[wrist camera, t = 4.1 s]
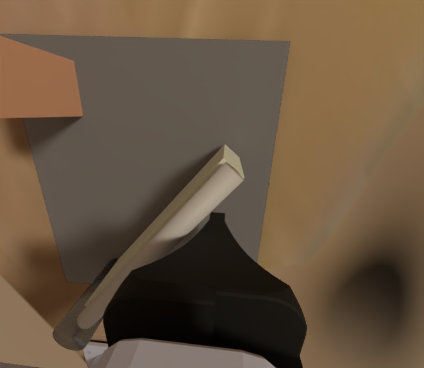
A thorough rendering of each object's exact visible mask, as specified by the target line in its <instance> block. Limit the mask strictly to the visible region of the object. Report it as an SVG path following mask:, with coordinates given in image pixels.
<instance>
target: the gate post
mask: <svg viewBox="0 0 424 368" xmlns="http://www.w3.org/2000/svg"><path fill="white" fill-rule="evenodd" d="M117 261H118V259H117V258H116V259H112V260H110V261H109V262H108V263H107V265H106V266H105V267H104V268H103V270H102V271H101V272H100V273H99V275H98V276H97V277H96V278H95V280H94V281H93V282H92V283H91V285H90V286H89V287H88V288H87V290H86V291H85V292H84V293H83V295H82V296H81V297H80V298H79V300H78V301H77V302H76V303H75V305H74V306H73V307H72V308H71V310H70V311H69V312H68V313H67V315H66V316H65V317H64V318H63V319H62V321H61V322H60V323H59V324H58V326H57V327H56V328H55V329H54V331H53V337H54V339H55V341H56V342H57V343H58V344H59V345H61V346H62V347H64V348H67V349H70V350H82V349H84V348H85V347H86V346H87V344H88V343H89V341H90V339H91V338H92V336H93V334H94V333H95V331H96V329H97V328H98V326H99V324H100V323H101V321H102V320H103V316H102V317H101V318H100V319H99V320H98V321H97V322H96V323H95V324H94V325H93V326H92V327H91V328H88V329H82V328H80V327H79V326H78V324H77V318H78V316H79V314H80V313H81V312H82V311H83V310H84V309H85V308H86V306H84V305H85V303H86V302H87V301H88V299H89V298H90V297H91V295H92V294H93V293H94V291H95V290H96V289H97V287H98V286H99V285H100V283H101V282H102V281H103V279H104V278H105V277H106V275H107V274H108V273H109V271H110V270H111V269H112V267H113V266H114V265H115V263H116V262H117Z"/></svg>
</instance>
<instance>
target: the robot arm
mask: <svg viewBox="0 0 424 368" xmlns="http://www.w3.org/2000/svg"><path fill="white" fill-rule="evenodd" d="M103 324H104V328H105V333H106V338H107V343H108V344H107V343H98V342H90V341H89V343H88V344H87V346H86V347H85V348H84V349H83V351H84V355H85V359H86V362H87V366H88V368H303V367H302V363H301V360H300V352H301V349H302V346H303V343H304V339H305V336H306V331H307V325H306V321H305V318H304V315H303V312H302V309H301V307H300V305H299V303H298V301H297V299H296V297H295V295H294V293H293V291H292V289H291V287H290V286H289V285H287V284H286V283H284V282H282V281H281V280H279V279H278V278H276V277H275V276H273V275H272V274H270V273H269V272H268V271H266V270H265V269H264V268H262V267H261V266H260V265H259V264H257V263H256V262H255V261H254V260H253V259H252V258H251V257H250V256H249V255H248V254H247V253H246V252H245V251H244V250H243V249H242V248H241V246H240V245H239V244H238V242H237V241H236V240H235V238H234V237H233V235H232V233H231V232H230V230H229V228H228V226H227V224H226V222H225V213H217V212H211V214H210V219H209V220H208V222H207V223H206V224H205V225H204V227H203V228H202V229H201V230H200V231H199V232H198V233H197V234H196V235H195V236H194V237H193V238H192V239H191V240H189V241H188V242H187V243H186V244H184V245H183V246H182V247H180V248H179V249H177V250H175V251H174V252H172V253H171V254H169V255H167V256H165V257H163V258H161V259H159V260H157V261H155V262H152V263H150V264H147V265H145V266H142V267H139V268H137V269H134V270H132V271H131V272H130V273H129V274H128V276H127V277H126V278H125V279H124V281H123V282H122V283H121V285H120V286H119V288H118V289H117V291H116V292H115V294H114V296H113V297H112V299H111V300H110V302H109V304H108V305H107V307H106V309H105V311H104V314H103ZM0 368H38V367H30V366H23V365H15V364H7V363H0Z"/></svg>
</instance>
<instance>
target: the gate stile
mask: <svg viewBox="0 0 424 368" xmlns="http://www.w3.org/2000/svg"><path fill="white" fill-rule="evenodd" d="M76 116H83V112H82V106H81V100H80V94H79V88H78V82H77V76H76V70H75V64H74V61H73V60H70V59H67V58H64V57H61V56H58V55H55V54H52V53H49V52H47V51H44V50H41V49H38V48H35V47H32V46H29V45H26V44H23V43H20V42H17V41H14V40H11V39H8V38H5V37H2V36H0V118H32V117H76Z"/></svg>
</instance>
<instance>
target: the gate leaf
mask: <svg viewBox="0 0 424 368" xmlns="http://www.w3.org/2000/svg"><path fill="white" fill-rule="evenodd" d="M243 178H244V174H243V170H242V166H241V162H240V158H239V157H238V156H237V155H236V154H235V153H234V152H233V151H232V150H231V149H230V148H229V147H228V146H227V145H226V144H224V145H223V146H222V148H221V149H220V150H219V151H218V152H217V153H216V154H215V155H214V156H213V157H212V158H211V159H210V161H209V162H208V163H207V164H206V165H205V166H204V167H203V168H202V169H201V170H200V171H199V172H198V174H197V175H196V176H195V177H194V178H193V179H192V180H191V181H190V182H189V183H188V184H187V185H186V187H185V188H184V189H183V190H182V191H181V192H180V193H179V194H178V195H177V196H176V197H175V198H174V200H173V201H172V202H171V203H170V204H169V205H168V206H167V207H166V208H165V209H164V210H163V211H162V213H161V214H160V215H159V216H158V217H157V218H156V219H155V220H154V221H153V222H152V223H151V224H150V226H149V227H148V228H147V229H146V230H145V231H144V232H143V233H142V234H141V235H140V236H139V237H138V239H137V240H136V241H135V242H134V243H133V244H132V245H131V246H130V247H129V248H128V249H127V250H126V252H125V253H124V254H123V255H122V256H121V257H120V258H119V259H118V261H117V262H116V263H115V265H114V266H113V267H112V269H111V270H110V271H109V273H108V274H107V275H106V277H105V278H104V279H103V281H102V282H101V283H100V285H99V286H98V287H97V289H96V290H95V291H94V293H93V294H92V295H91V297H90V298H89V299H88V301H87V302H86V303H85V305H84V306H86V308H85V309H84V310H83V311H82V312H81V313H80V314H79V316H78V318H77V324H78V326H79V327H80V328H82V329H88V328H91V327H92V326H93V325H94V324H95V323H96V322H97V321H98V320H99V319H100V318H101V317H102V316H103V314H104V311H105V309H106V307H107V305H108V304H109V302H110V300H111V299H112V297H113V296H114V294H115V292H116V291H117V289H118V288H119V286H120V285H121V283H122V282H123V281H124V279H125V278H126V277H127V276H128V274H129V273H130V272H131V271H132V270H134V269H137V268H139V267H142V266H145V265H147V264H150V263H152V262H155V261H157V260H159V259H161V258H163V257H165V256H166V255H167V254H168V253H169V252H170V251H171V250H172V249H173V248H174V247H175V246H176V245H177V244H178V243H179V242H180V241H181V240H182V239H183V238H184V237H185V236H186V235H187V234H188V233H190V232H191V231H192V230H193V229H194V228H195V227H196V226H197V225H198V224H199V223H200V222H201V221H202V220H203V219H204V218H205V217H206V216H207V215H208V214H209V213H210V212H211V211H212V210H213V209H214V208H216V207H217V206H218V205H219V204H220V203H221V202H222V201H223V200H224V199H225V198H226V197H227V196H228V195H229V194H230V193H231V192H232V191H233V190H234V189H235V188H236V187H237V186H238V185H239V184H240V183H241V182H243V181H244V179H243Z"/></svg>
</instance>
